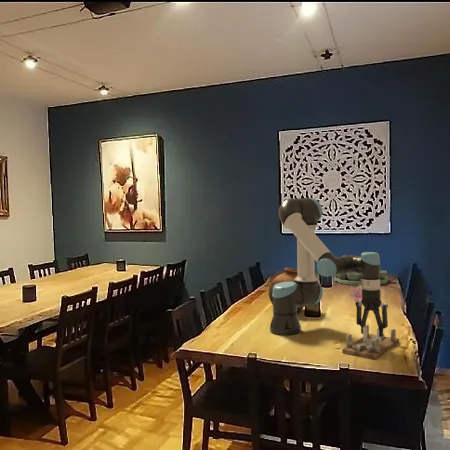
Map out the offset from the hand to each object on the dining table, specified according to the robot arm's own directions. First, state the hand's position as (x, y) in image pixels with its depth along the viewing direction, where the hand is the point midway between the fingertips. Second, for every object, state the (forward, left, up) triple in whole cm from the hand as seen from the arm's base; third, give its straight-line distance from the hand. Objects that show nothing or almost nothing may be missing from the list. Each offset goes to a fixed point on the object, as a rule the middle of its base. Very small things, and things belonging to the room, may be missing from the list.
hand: (372, 342), depth 197 cm
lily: (-41, +79, -3) cm, 89 cm away
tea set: (-68, +147, -3) cm, 162 cm away
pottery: (-63, +36, -2) cm, 73 cm away
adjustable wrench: (0, +1, -1) cm, 1 cm away
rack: (0, 0, -2) cm, 2 cm away
